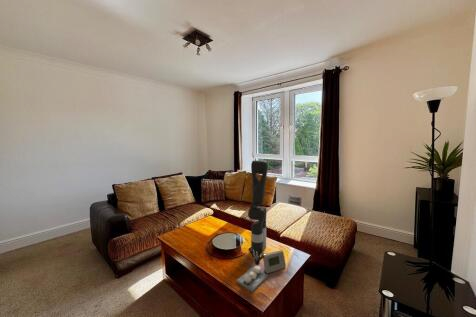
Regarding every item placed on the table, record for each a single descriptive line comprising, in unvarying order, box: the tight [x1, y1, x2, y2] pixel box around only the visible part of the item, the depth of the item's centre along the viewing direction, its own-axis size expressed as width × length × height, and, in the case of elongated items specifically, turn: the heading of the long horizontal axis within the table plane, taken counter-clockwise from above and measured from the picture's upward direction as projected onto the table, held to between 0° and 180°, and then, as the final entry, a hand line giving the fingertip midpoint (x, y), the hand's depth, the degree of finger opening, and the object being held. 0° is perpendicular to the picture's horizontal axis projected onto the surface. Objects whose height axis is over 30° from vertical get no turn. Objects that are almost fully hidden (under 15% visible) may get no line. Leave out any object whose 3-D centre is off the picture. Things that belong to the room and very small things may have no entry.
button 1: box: [243, 273, 251, 285], centre depth 119 cm, size 5×5×3 cm
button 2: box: [249, 272, 256, 281], centre depth 123 cm, size 5×5×3 cm
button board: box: [236, 266, 269, 293], centre depth 123 cm, size 12×16×2 cm
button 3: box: [253, 265, 262, 276], centre depth 127 cm, size 5×5×3 cm
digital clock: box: [262, 249, 287, 274], centre depth 133 cm, size 16×9×11 cm, turn 102°
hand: (257, 264), depth 126 cm, fingers closed
